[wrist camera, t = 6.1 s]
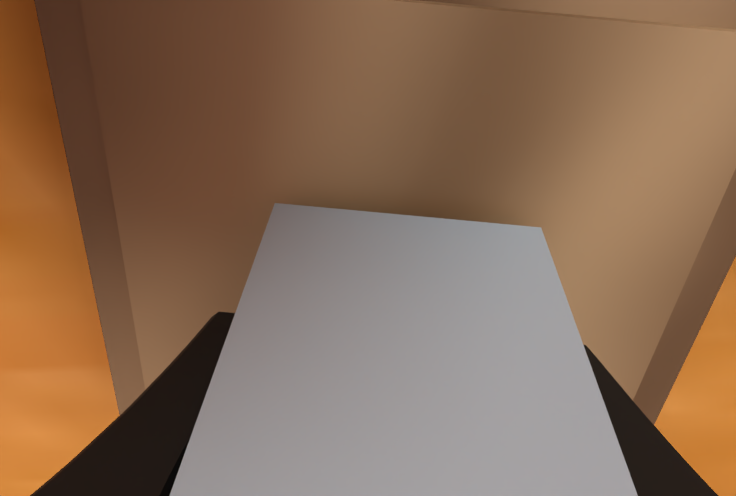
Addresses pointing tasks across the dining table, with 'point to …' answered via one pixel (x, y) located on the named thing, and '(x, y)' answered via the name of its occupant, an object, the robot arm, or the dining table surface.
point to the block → (402, 368)
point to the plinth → (402, 150)
